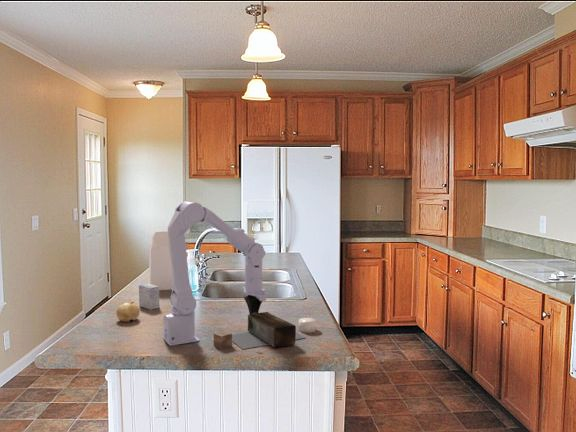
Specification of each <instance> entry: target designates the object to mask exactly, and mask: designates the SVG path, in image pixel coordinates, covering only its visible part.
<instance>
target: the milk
mask: <svg viewBox="0 0 576 432" xmlns="http://www.w3.org/2000/svg"><path fill="white" fill-rule="evenodd" d="M148 257H149V259H148V260H149V261H148V265H149V266H148V284H152V285H155V286H158V287H159V291H163V290H164V291H165V290H172V285H173V276H172V266H171V256H170V247H169V237H168V230H155V231H154V233H153V235H152V237H151V241H150V244H149V256H148Z"/></svg>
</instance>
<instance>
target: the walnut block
mask: <svg viewBox="0 0 576 432" xmlns="http://www.w3.org/2000/svg"><path fill="white" fill-rule="evenodd" d="M232 335H233V333H231V332H229V331H225V330H222V331H217V332H214V333H213V347H215V348H218V349H219V350H224V349H226V348H230V347H233V342H232Z"/></svg>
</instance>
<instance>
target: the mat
mask: <svg viewBox="0 0 576 432" xmlns="http://www.w3.org/2000/svg"><path fill="white" fill-rule="evenodd" d="M303 339H306V337H305V336H303V335H302V334H300V333H298V332H296V337H295V341H297V340H303ZM232 344H235V345H236V346H237V347H239V348H240V349H241V350H247V349H248V350H249V349H253V348H260V347H264V346H271V345H270V344H268V343H267V342H265V341H263V340H262V339H260V338H258V337H257V336H255V335H253V334H252V333H250V332H249V331H245V332H241V333H240V332H239V333H232Z"/></svg>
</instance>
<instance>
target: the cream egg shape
mask: <svg viewBox="0 0 576 432" xmlns="http://www.w3.org/2000/svg"><path fill="white" fill-rule="evenodd" d="M316 331H317V320H316V318H312V317H302V318H299V319H298V332H300V333H305V334H312V332H313V333H316Z"/></svg>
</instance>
